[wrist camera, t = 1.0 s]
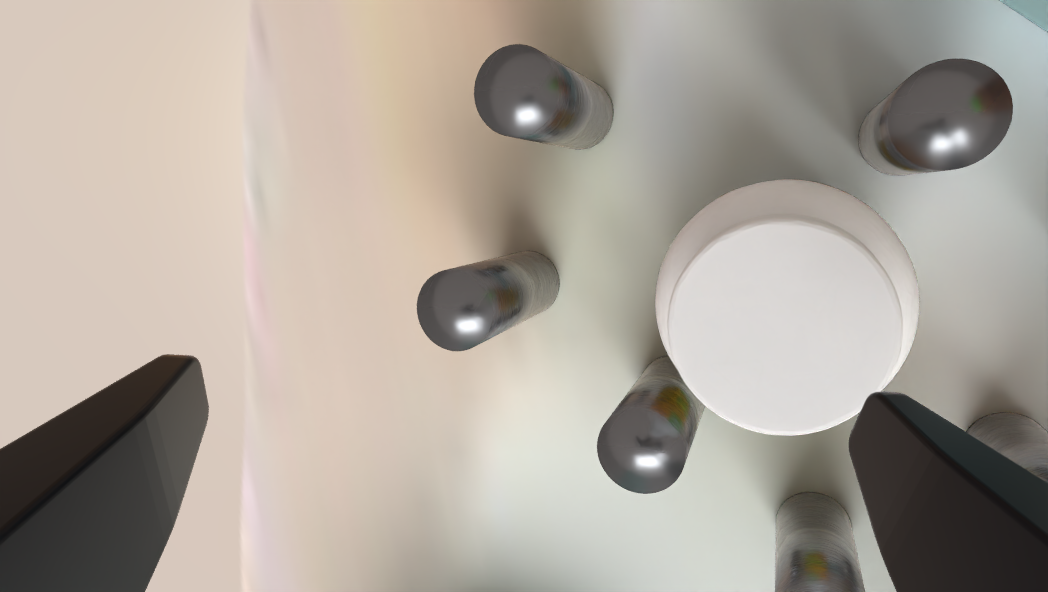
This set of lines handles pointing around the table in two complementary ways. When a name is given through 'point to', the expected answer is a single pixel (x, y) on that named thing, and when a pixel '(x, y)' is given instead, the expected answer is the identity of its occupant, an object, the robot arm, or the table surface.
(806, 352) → the supplement bottle
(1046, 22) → the teal tray
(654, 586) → the table surface
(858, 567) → the spacer field
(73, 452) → the robot arm
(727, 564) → the table surface
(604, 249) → the table surface
